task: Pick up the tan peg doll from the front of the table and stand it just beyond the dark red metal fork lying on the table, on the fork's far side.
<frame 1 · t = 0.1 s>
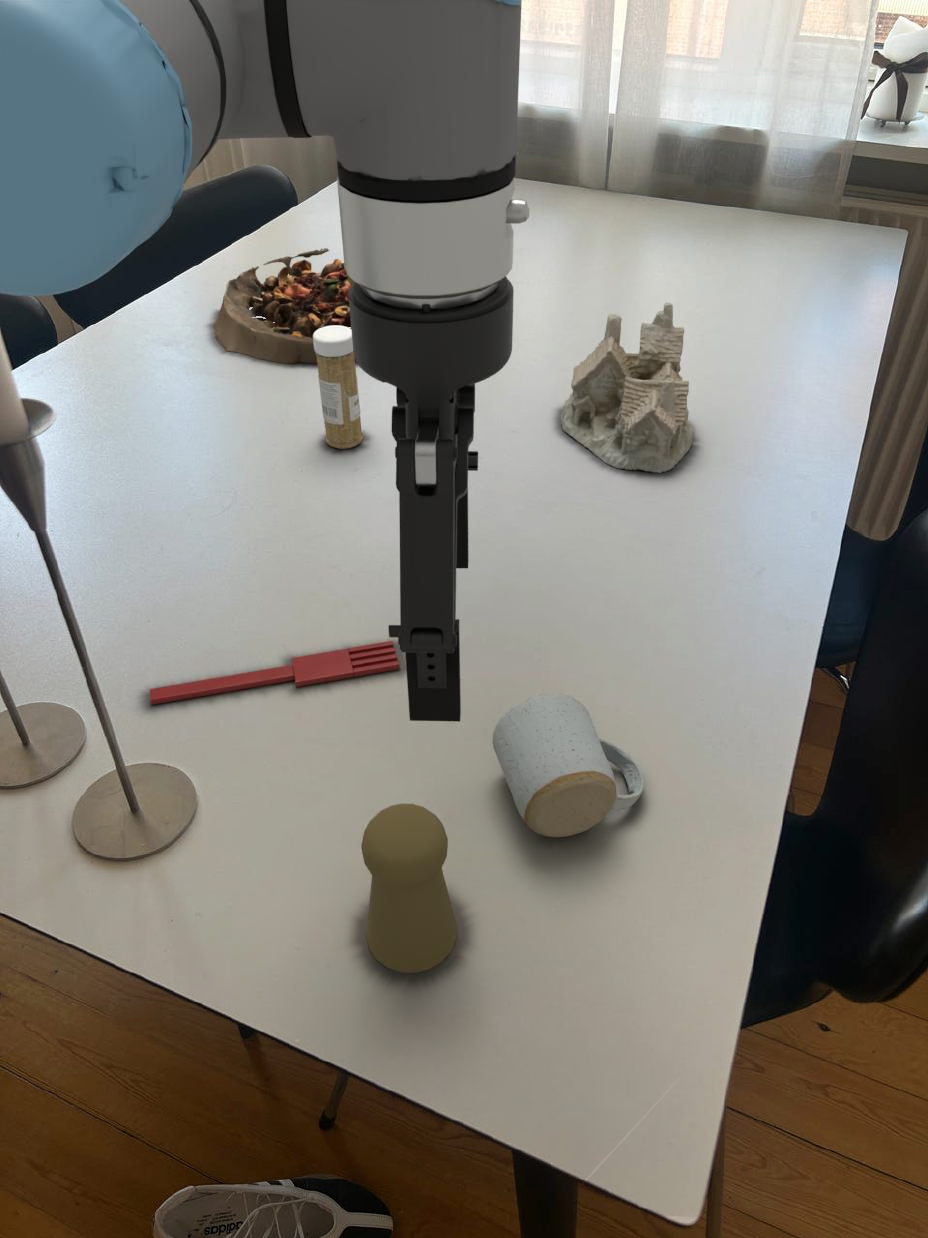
hand: (441, 634, 57), 20 cm above the table, tool pointing down, fingers open, 13 cm apart
sprinkles bottle: (344, 441, 114), on the table
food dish: (334, 317, 143), on the table
tan peg doll: (411, 933, 64), on the table
ceramic cottage: (622, 436, 115), on the table
fork: (270, 678, 83), on the table
ceramic mug: (568, 795, 73), on the table
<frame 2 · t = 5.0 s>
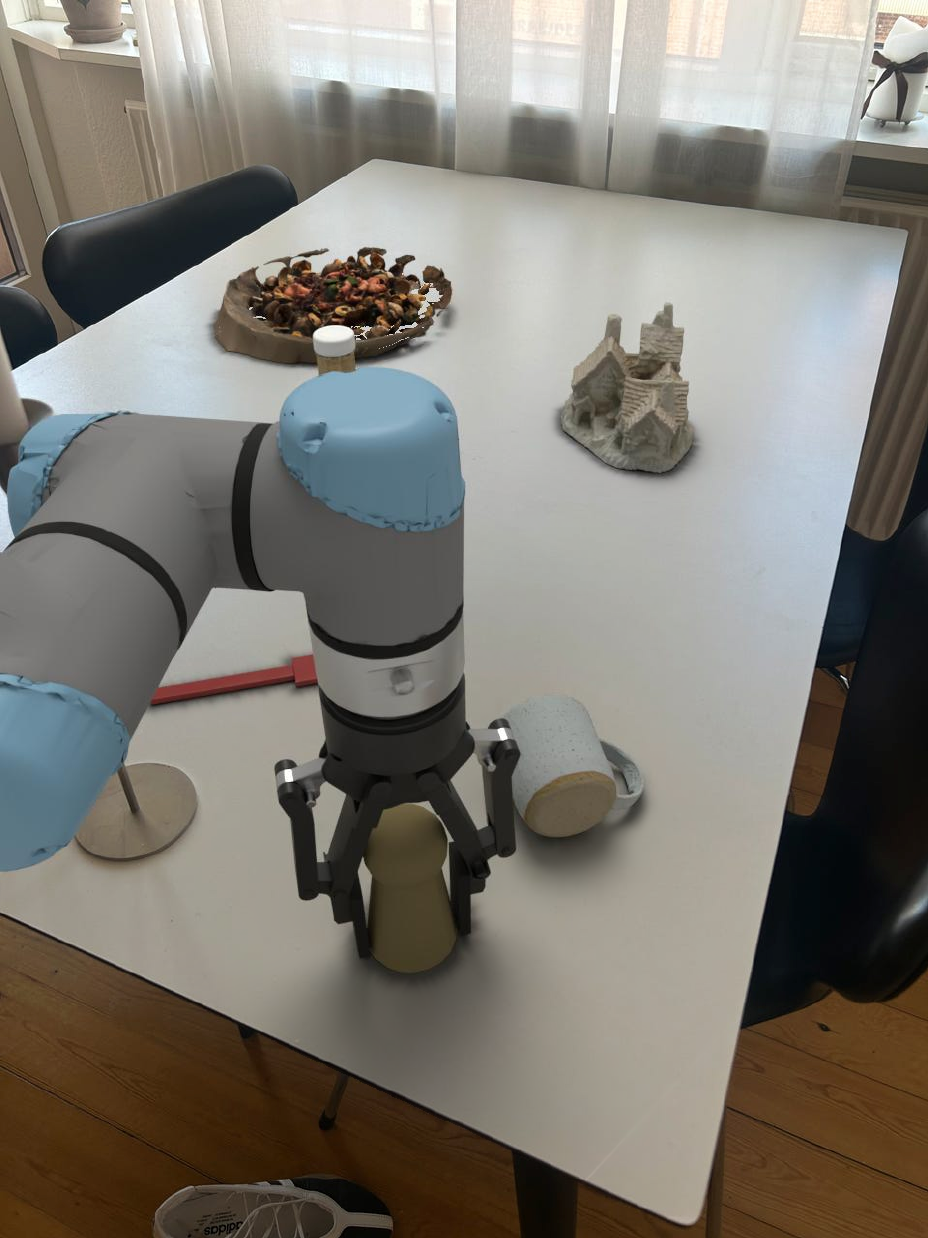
hand: (411, 928, 64), 0 cm above the table, tool pointing down, fingers closed on tan peg doll, 6 cm apart
tan peg doll: (411, 933, 64), on the table, touching gripper
everything else where it was.
when the fingers open (0 cm above the table, at t = 12.9 s): tan peg doll stays where it is, on the table.
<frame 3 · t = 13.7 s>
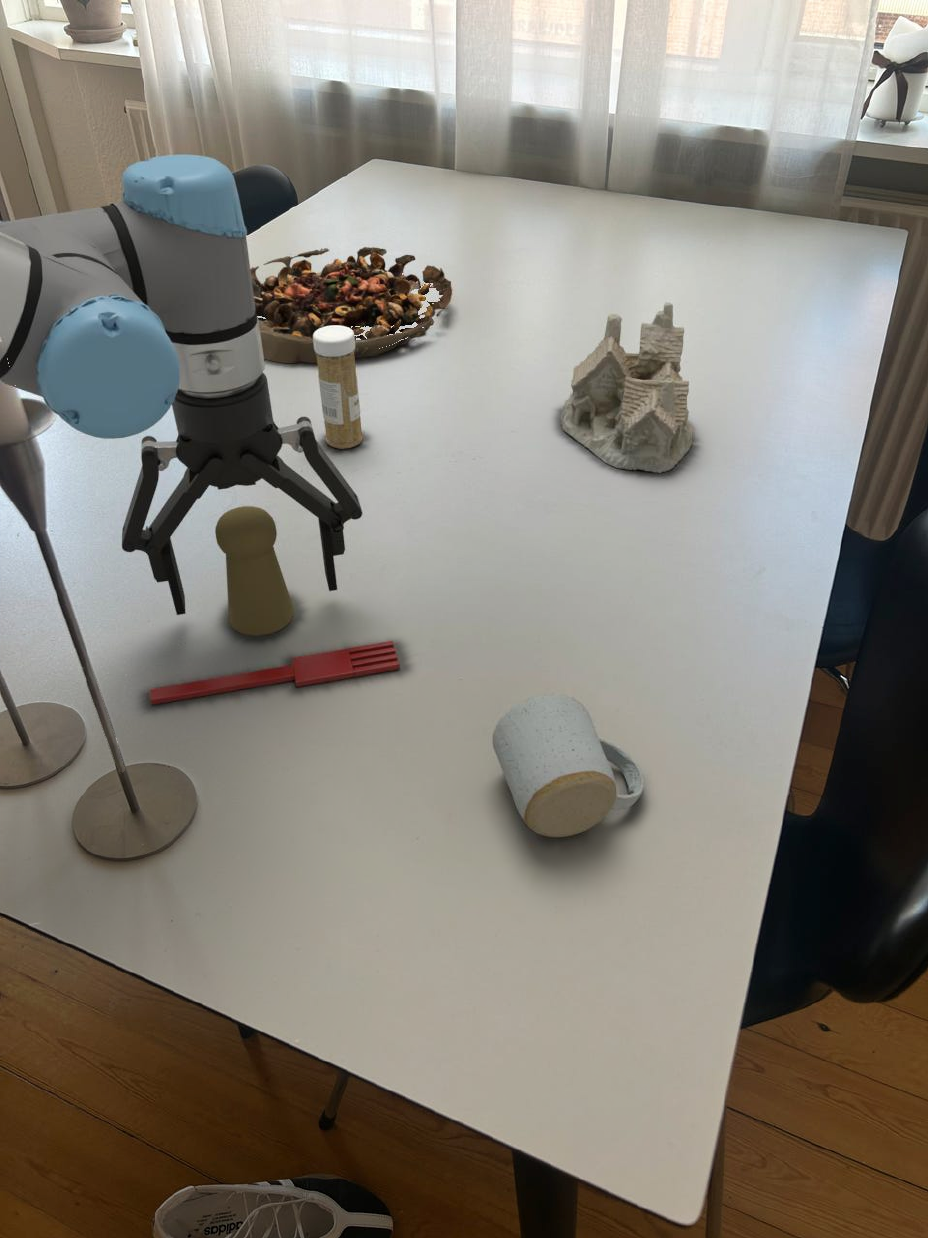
hand: (257, 593, 88), 2 cm above the table, tool pointing down, fingers open, 13 cm apart
tan peg doll: (261, 616, 90), on the table
everything else where it was.
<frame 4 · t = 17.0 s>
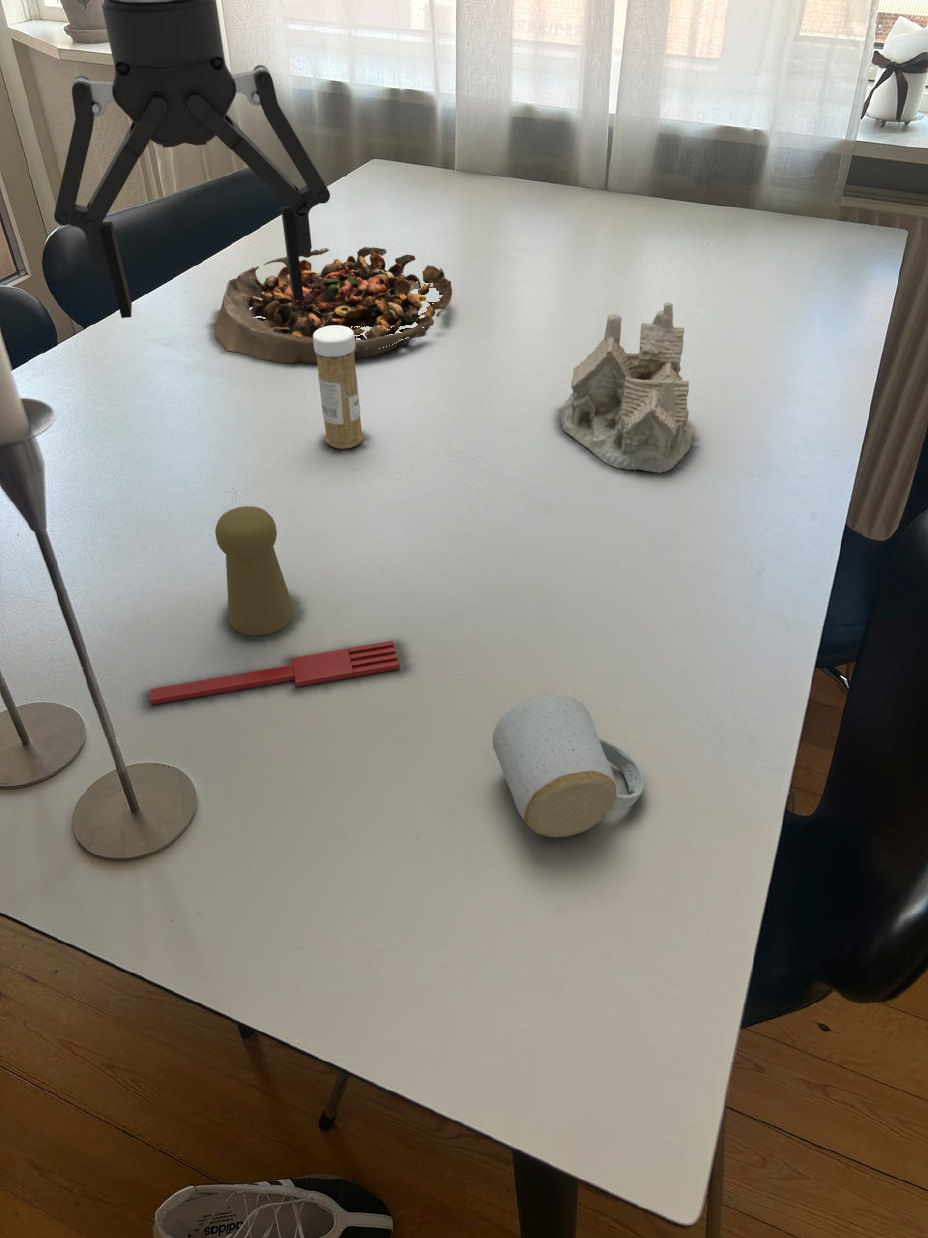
hand: (213, 302, 78), 27 cm above the table, tool pointing down, fingers open, 13 cm apart
nothing on the table moved.
at the end: tan peg doll inside the target area on the table beside the fork (0.0 cm from its centre), on the table; tan peg doll tilted 0°; the gripper is holding nothing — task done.
